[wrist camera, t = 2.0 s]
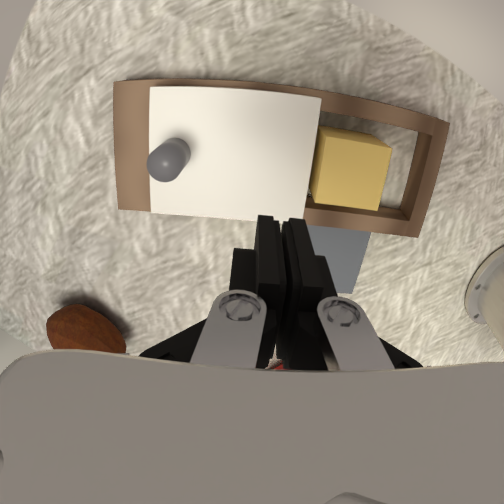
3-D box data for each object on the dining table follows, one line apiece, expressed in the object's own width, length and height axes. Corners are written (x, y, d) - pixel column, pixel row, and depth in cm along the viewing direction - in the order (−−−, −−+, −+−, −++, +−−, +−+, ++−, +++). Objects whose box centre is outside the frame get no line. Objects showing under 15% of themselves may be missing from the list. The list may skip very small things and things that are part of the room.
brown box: (436, 117, 23) (449, 123, 21) (408, 225, 29) (418, 237, 27) (125, 80, 23) (113, 81, 21) (128, 198, 28) (118, 209, 26)
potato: (129, 353, 40) (114, 397, 34) (60, 326, 38) (38, 365, 32) (137, 312, 36) (118, 360, 30) (59, 281, 34) (30, 322, 28)
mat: (371, 225, 29) (372, 227, 29) (351, 291, 34) (351, 293, 33) (289, 215, 29) (289, 217, 29) (277, 286, 33) (277, 288, 33)
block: (370, 134, 25) (392, 148, 21) (360, 187, 28) (377, 210, 23) (314, 124, 25) (326, 136, 21) (306, 180, 27) (314, 202, 23)
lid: (319, 97, 21) (330, 102, 18) (299, 220, 26) (305, 245, 23) (154, 86, 21) (134, 90, 17) (154, 207, 26) (139, 230, 22)
